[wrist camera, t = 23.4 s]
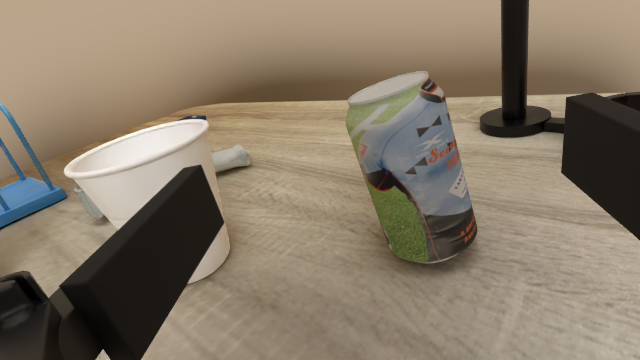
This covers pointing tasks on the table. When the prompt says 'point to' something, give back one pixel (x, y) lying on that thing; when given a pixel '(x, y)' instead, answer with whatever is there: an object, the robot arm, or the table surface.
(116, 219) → the cup
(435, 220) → the beverage can
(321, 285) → the table surface
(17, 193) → the file sorter
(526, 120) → the can holder
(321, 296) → the table surface
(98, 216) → the tape dispenser
